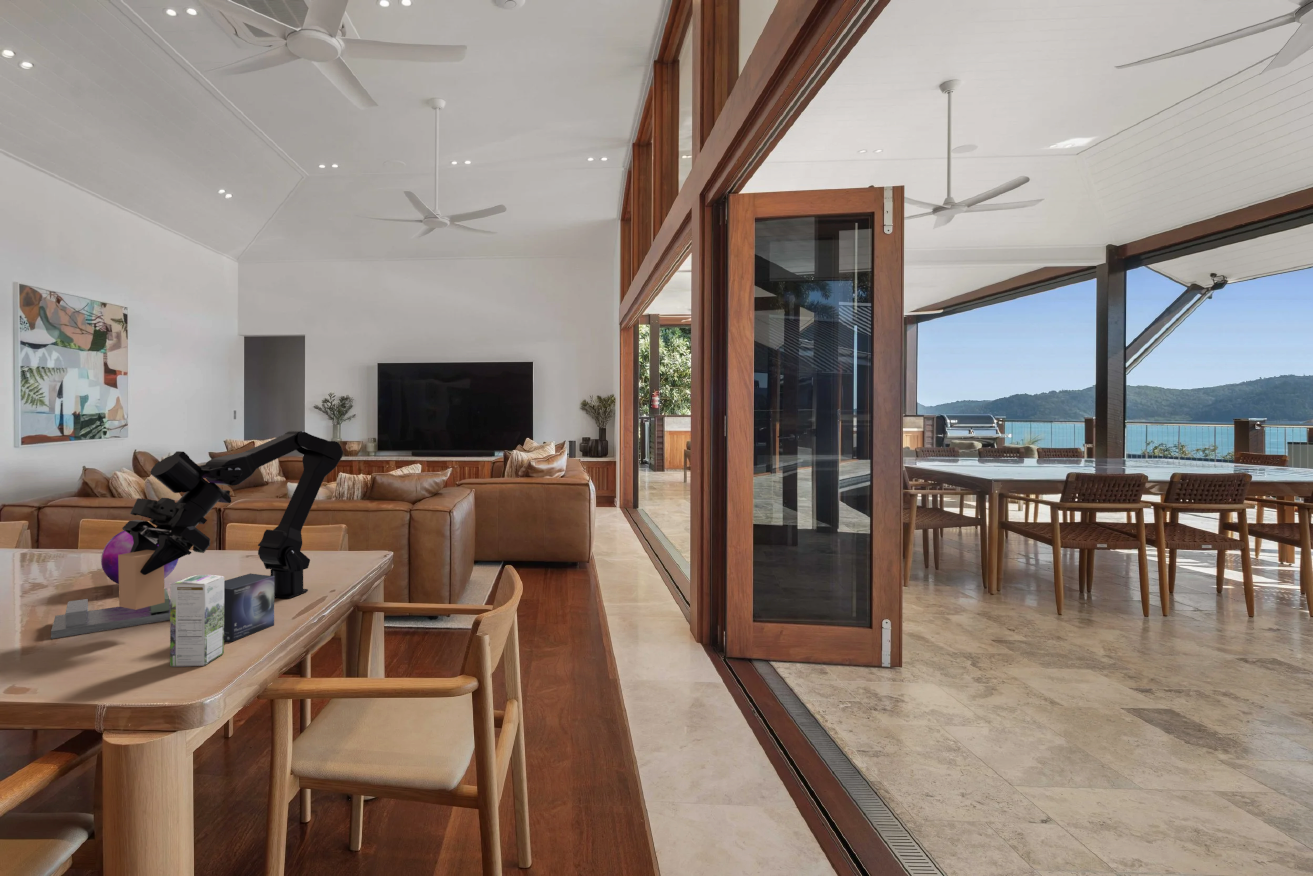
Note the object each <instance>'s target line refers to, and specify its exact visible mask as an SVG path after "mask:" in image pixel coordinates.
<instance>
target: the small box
mask: <svg viewBox="0 0 1313 876" xmlns="http://www.w3.org/2000/svg"><path fill="white" fill-rule="evenodd" d="M273 626H275V597H274V576H270V575H268V574H266V575H265V574H259V573H258V574H257V573H251V572H250V573H247V574H243V575H239V576H237V577H233V578H229V579H226V580H225V579H224V642H228V643H233V642H235V641H238V640H240V639H242V638H246V637H248V636H250V635H252V634H253V635H254V634H256V633H257V632H260V631H263V630H265V629H268V628H270V627H273Z"/></svg>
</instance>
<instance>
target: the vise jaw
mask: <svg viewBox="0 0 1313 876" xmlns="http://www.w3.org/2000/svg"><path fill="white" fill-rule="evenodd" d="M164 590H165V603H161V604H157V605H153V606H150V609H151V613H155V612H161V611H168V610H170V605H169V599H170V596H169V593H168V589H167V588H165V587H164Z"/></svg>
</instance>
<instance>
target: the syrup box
mask: <svg viewBox="0 0 1313 876" xmlns="http://www.w3.org/2000/svg"><path fill="white" fill-rule="evenodd" d="M224 581H225V576H223V575H215V574H197V575H191V576H189V577H186V578H183V579H180V580H178V581H175V582H173V583H171V584H170V593H169V594H170V596H169V599H170V620H169V621H170V624H169V625H170V626H169V627H170V628H169V634H170V635H169V637H170V638H169V639H170V640H169V663H170V664H169V665H170V667H197V666H198V667H201V666H202V667H203V666H206V665H208V664H210V663H211V662H213V661H215V660H216V659H218V658H219V657H221V656H222V655H224V653H225V641H224Z"/></svg>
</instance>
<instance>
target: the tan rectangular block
mask: <svg viewBox="0 0 1313 876" xmlns="http://www.w3.org/2000/svg"><path fill="white" fill-rule="evenodd" d="M154 552H155V551H153V550H143V551H137V552H132V553H126V554H120V555H118V567H119V584H118V602H119V603H118V605H119V606H118V607H124V608H129V609H135V610H137V609H141V608H145V607H149V606H153V605H157V604H161V603H165V590H164V589H165V578H164V566H162V567H160V568H158V569H156V570H154V571H152V572H150V573H149V574H147V575H143V574H142V573H140V571H141V569H142V568H143V566H144V565H145V563H146V562H147V561H148V559H149V558H150V557H151V556H152V554H153V553H154Z"/></svg>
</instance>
